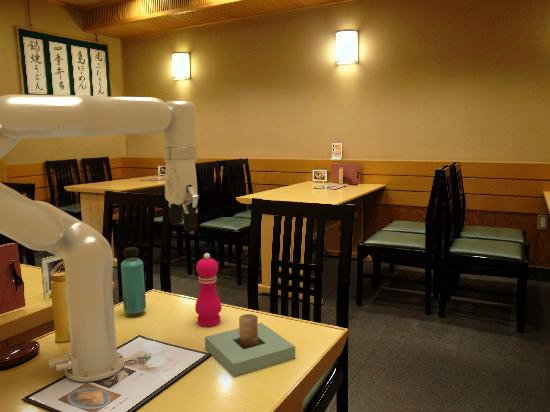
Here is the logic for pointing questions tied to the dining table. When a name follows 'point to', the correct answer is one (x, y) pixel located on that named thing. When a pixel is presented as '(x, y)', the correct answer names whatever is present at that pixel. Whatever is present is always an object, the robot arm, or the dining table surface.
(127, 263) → the beverage bottle
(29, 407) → the dining table surface
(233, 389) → the dining table surface
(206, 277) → the pepper mill
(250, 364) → the socket board
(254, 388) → the dining table surface
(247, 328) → the walnut peg
